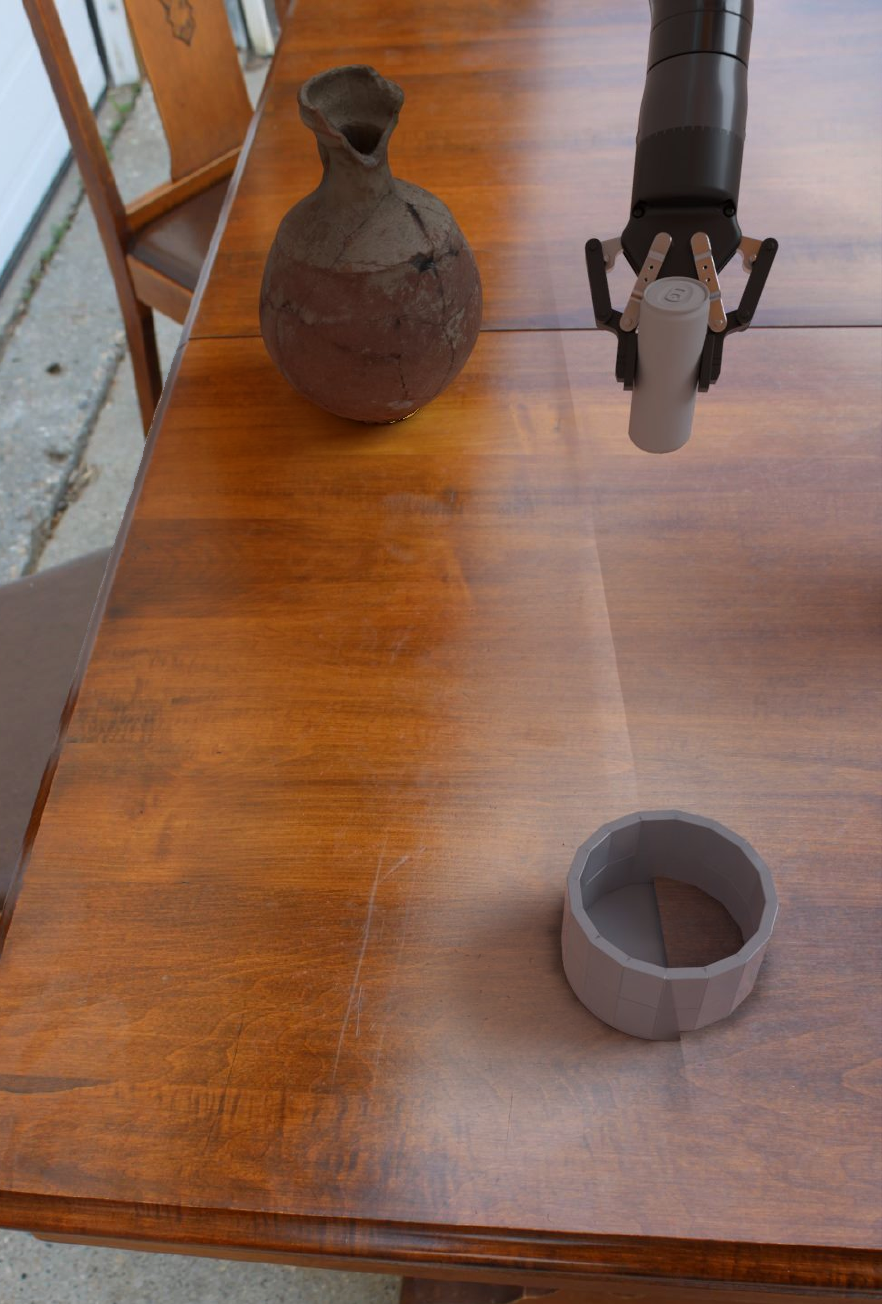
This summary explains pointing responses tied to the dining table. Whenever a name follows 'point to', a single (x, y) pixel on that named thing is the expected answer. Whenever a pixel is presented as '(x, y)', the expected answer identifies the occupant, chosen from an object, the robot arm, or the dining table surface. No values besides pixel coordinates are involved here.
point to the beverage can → (668, 363)
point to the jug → (367, 267)
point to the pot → (629, 927)
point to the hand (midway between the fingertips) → (665, 388)
